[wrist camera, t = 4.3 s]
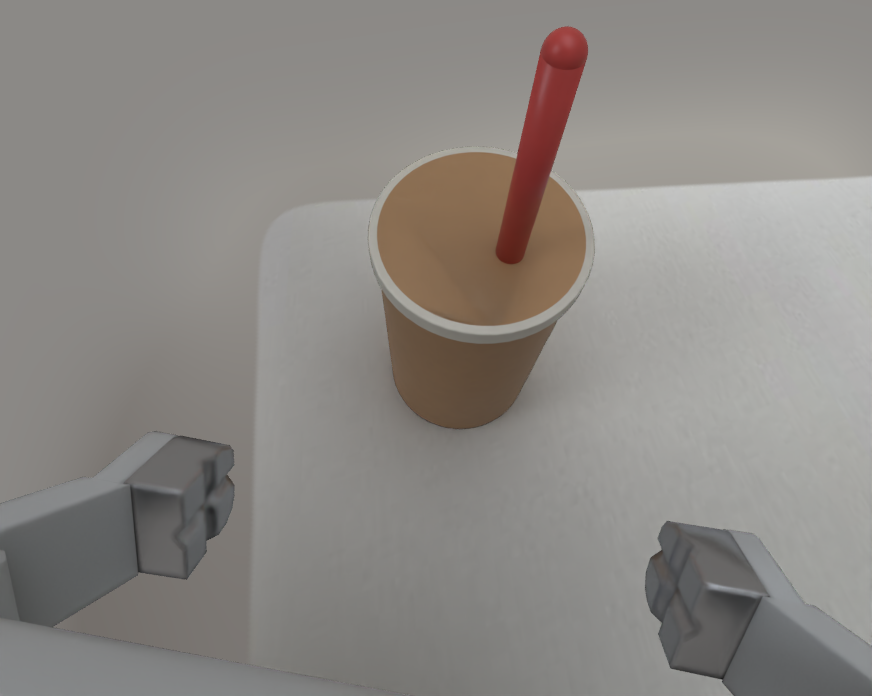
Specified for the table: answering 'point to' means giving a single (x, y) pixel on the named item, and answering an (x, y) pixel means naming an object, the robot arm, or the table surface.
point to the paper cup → (483, 257)
